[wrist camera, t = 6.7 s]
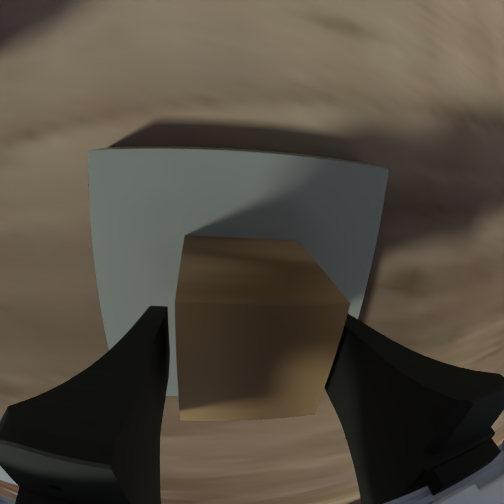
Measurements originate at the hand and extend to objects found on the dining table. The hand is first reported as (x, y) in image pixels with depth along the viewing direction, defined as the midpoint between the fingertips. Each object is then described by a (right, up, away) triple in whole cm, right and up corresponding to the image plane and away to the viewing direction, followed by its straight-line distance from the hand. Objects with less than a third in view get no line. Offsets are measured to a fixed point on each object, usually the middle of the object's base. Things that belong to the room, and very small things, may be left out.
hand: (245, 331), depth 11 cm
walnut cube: (0, +1, +2) cm, 2 cm away
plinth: (-1, +2, +5) cm, 5 cm away
